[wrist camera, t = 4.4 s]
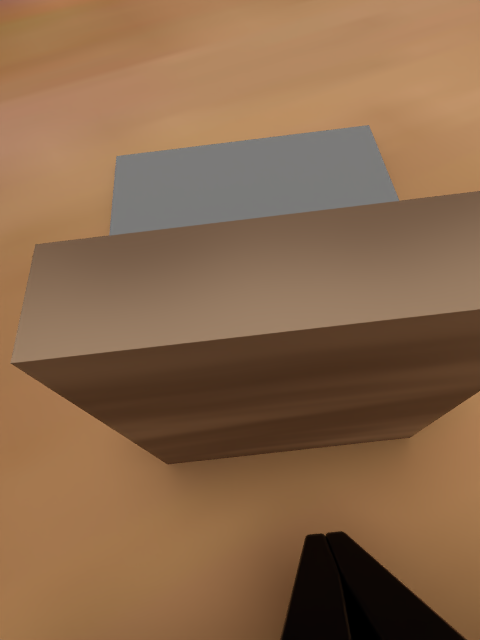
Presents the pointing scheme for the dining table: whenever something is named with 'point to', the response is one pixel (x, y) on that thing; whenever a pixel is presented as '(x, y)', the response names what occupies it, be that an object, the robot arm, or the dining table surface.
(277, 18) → the dining table surface
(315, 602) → the robot arm
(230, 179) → the slate board
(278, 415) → the walnut tile
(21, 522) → the dining table surface
